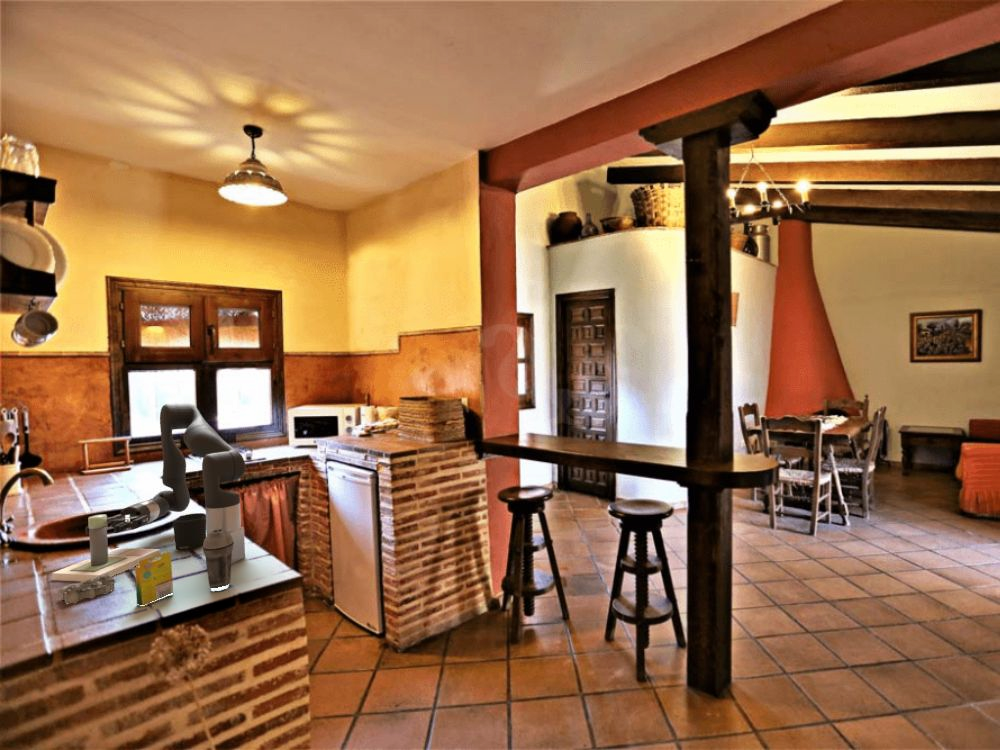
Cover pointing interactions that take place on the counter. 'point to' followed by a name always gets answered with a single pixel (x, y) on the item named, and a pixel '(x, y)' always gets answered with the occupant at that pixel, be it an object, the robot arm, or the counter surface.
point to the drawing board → (105, 565)
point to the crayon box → (154, 578)
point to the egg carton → (87, 588)
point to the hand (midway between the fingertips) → (100, 530)
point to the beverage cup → (218, 556)
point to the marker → (98, 539)
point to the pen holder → (190, 531)
